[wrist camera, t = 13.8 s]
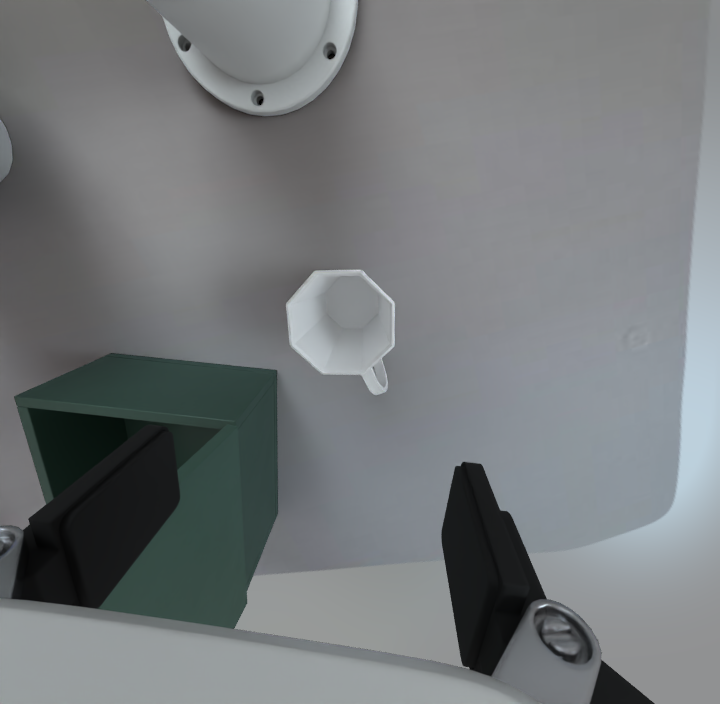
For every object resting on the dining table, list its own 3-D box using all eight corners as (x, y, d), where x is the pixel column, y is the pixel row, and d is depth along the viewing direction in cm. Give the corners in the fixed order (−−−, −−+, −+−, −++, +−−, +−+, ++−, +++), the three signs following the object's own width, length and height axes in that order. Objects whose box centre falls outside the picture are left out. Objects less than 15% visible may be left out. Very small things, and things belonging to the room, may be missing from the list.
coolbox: (137, 495, 37) (65, 570, 29) (111, 352, 32) (13, 396, 23) (278, 513, 37) (245, 595, 28) (276, 370, 31) (235, 421, 23)
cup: (376, 240, 26) (370, 244, 19) (422, 353, 29) (433, 396, 22) (296, 277, 28) (262, 294, 20) (348, 381, 31) (334, 430, 23)
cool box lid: (5, 1037, 13) (118, 1103, 12) (-219, 832, 7) (-31, 930, 6) (238, 600, 28) (295, 616, 27) (226, 423, 22) (298, 437, 21)
